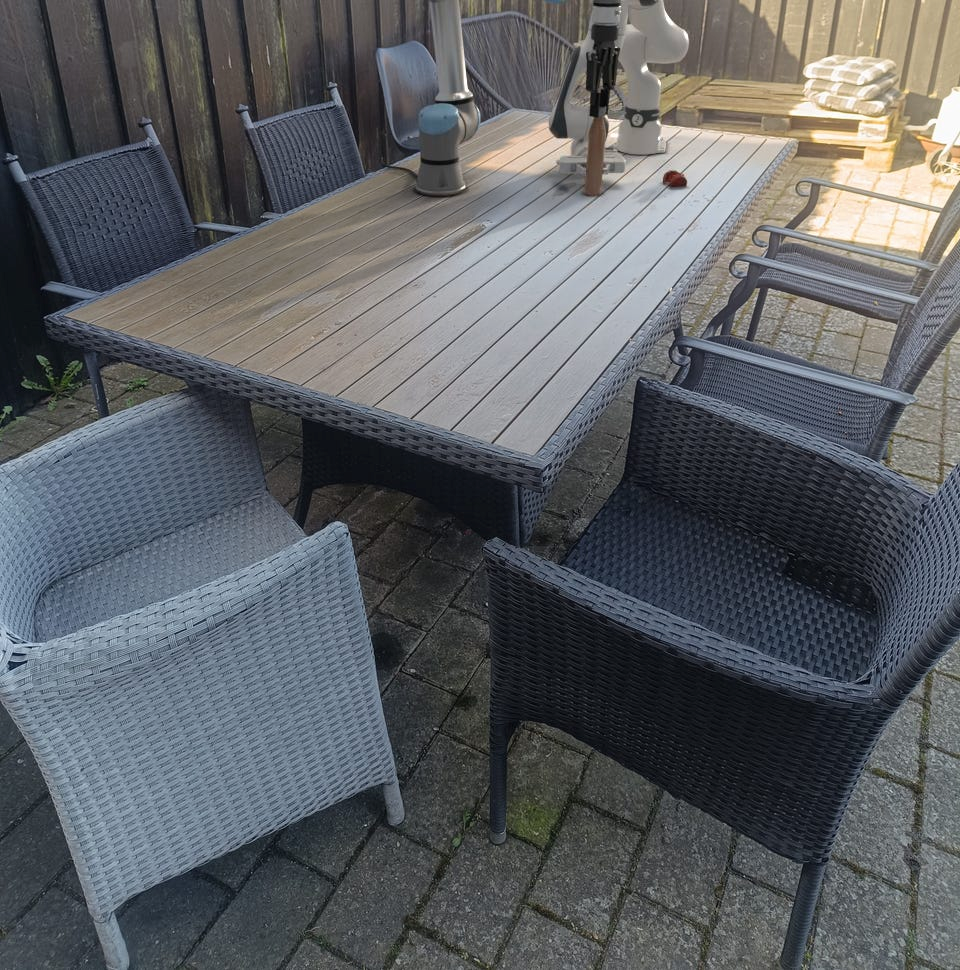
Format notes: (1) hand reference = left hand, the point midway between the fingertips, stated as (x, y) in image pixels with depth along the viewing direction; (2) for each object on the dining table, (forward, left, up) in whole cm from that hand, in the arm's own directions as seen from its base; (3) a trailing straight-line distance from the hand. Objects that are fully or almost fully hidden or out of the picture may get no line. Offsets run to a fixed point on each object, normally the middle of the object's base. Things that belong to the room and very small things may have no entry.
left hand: (598, 115), depth 243 cm
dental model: (+15, +23, -22) cm, 35 cm away
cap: (0, 0, +2) cm, 2 cm away
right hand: (+1, -1, -16) cm, 16 cm away
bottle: (0, 0, -22) cm, 22 cm away
